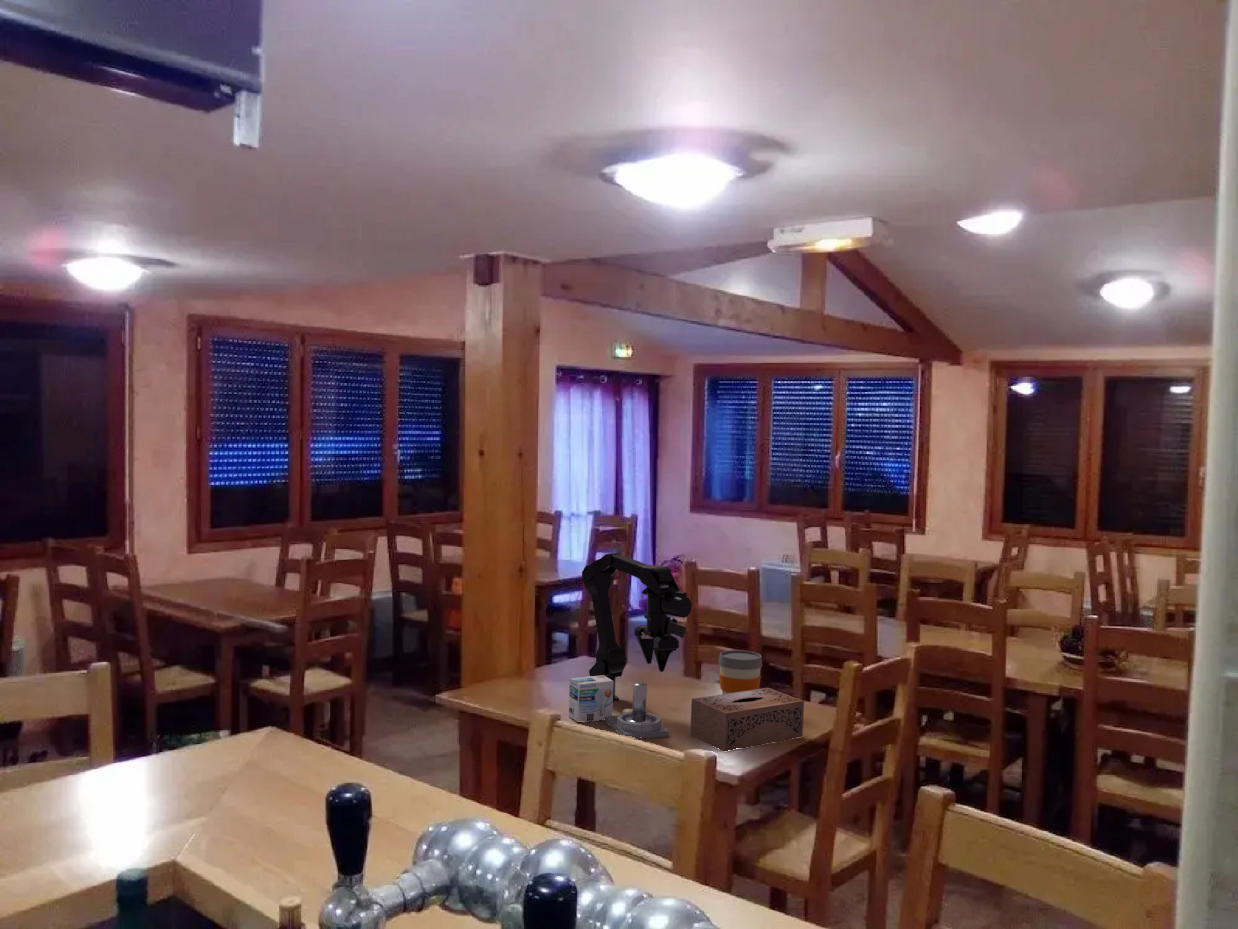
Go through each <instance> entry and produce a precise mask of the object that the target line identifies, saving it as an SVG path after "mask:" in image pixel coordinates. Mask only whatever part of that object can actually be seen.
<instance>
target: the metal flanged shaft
mask: <svg viewBox="0 0 1238 929" xmlns="http://www.w3.org/2000/svg"><path fill="white" fill-rule="evenodd" d="M647 693H648V684H647V683H646V682H634V683H633V686H632V708H631V709H632V716H631V717H628V718H626V721H627V722H630V723H638V724H644V723H652V719H650V718H648V717H646V713H647V696H648V695H647Z"/></svg>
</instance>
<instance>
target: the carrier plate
mask: <svg viewBox="0 0 1238 929" xmlns="http://www.w3.org/2000/svg"><path fill="white" fill-rule="evenodd" d="M632 709H633V708H624V709H623V710H622V713H621V714H618V715H612V716H605V720H603V721H605V722H606V723H607V724H609V725H610V726H611V727H612V728H611V727H610V726H609V725H608V726H609V727H610V728H611V729H612V730H613V729H614V730H617V731H618V733H620V734H621V735H625V736H632V737H635V738H638V739H637V740H643V739H642V738H646V739H657V738H667V737H669V736H670V735H669V733H670V731H669V730H668V729H667V728H666V727H664V726H663V725H662V718H661V717H660V716H659V715H657V714H653V713H649V712H646V717H648V718H650V719H652V723H644V724H638V723H630V722H627V721H626V718H628V717H631V716H632ZM605 722H604V723H605ZM606 723H605V724H606ZM607 724H606V725H607ZM614 730H613V731H614ZM618 733H617V734H618ZM640 737H642V738H640Z"/></svg>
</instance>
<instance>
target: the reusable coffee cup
mask: <svg viewBox="0 0 1238 929" xmlns="http://www.w3.org/2000/svg"><path fill="white" fill-rule="evenodd" d="M718 657H719V658H718V665H719V672H718V675H719V676H718V677H719V688H720V689H721V694H728V693H735V692H742V691H748V690H755V689H760V682H761V677H762V676H761V668H762V667H763V659H762V657H763V656H762V654H760V653H757V652H755V651H751V650H744V649H743V650H740V649H730V650H724V651H721V652H720V653H719V656H718Z"/></svg>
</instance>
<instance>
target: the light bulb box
mask: <svg viewBox="0 0 1238 929" xmlns="http://www.w3.org/2000/svg"><path fill="white" fill-rule="evenodd" d="M613 685H614V681H613V680H611V679H609V678H607V677H606V676H604V675H600V676H590V675H589V676H583V677H571V678H569V695H568V696H569V697H568V698H569V700H568V717H569V718H571V719H572V718H573V719H574V720H573V719H572V720H573V721H575V720H576V721H585V722H584V723H590V722H591V721H592V722H600V721H599V720H602V721H604V719H605V716H613V705H614V700H613ZM576 721H575V722H576ZM589 721H590V722H589ZM592 722H591V723H592Z"/></svg>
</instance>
